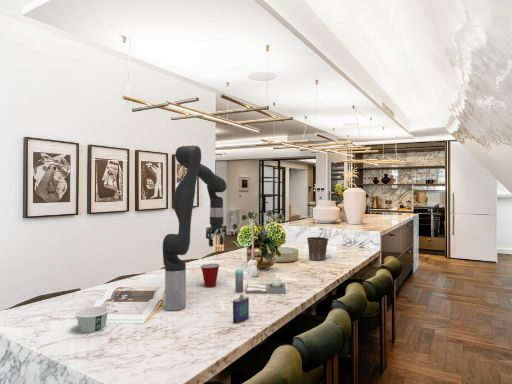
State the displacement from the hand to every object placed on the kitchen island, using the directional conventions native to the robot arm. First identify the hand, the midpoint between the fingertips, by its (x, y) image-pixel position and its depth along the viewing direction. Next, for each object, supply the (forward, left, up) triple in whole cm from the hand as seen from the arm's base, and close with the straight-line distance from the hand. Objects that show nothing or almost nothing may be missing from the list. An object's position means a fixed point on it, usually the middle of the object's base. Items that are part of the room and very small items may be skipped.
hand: (216, 245), depth 198 cm
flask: (-50, -17, -23) cm, 57 cm away
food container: (-60, +40, -23) cm, 75 cm away
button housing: (-8, -33, -23) cm, 41 cm away
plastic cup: (+1, +4, -23) cm, 23 cm away
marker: (-9, -13, -23) cm, 28 cm away
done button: (-8, -33, -21) cm, 40 cm away
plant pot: (+79, -66, -23) cm, 106 cm away
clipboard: (-4, -22, -23) cm, 32 cm away
